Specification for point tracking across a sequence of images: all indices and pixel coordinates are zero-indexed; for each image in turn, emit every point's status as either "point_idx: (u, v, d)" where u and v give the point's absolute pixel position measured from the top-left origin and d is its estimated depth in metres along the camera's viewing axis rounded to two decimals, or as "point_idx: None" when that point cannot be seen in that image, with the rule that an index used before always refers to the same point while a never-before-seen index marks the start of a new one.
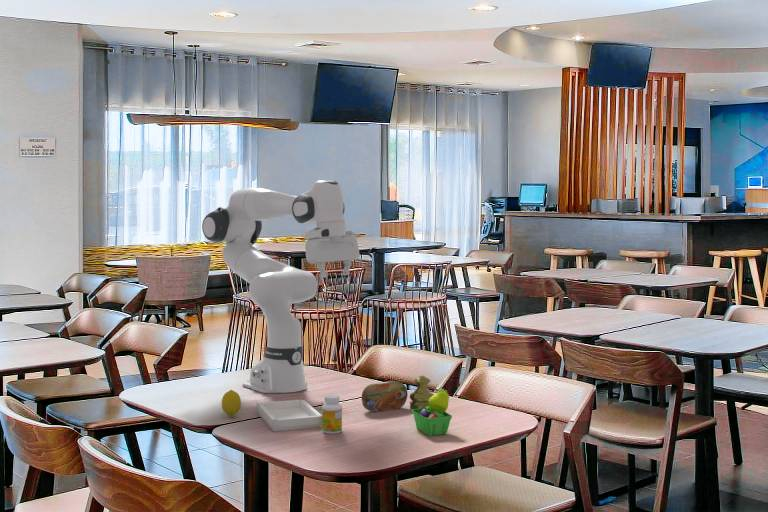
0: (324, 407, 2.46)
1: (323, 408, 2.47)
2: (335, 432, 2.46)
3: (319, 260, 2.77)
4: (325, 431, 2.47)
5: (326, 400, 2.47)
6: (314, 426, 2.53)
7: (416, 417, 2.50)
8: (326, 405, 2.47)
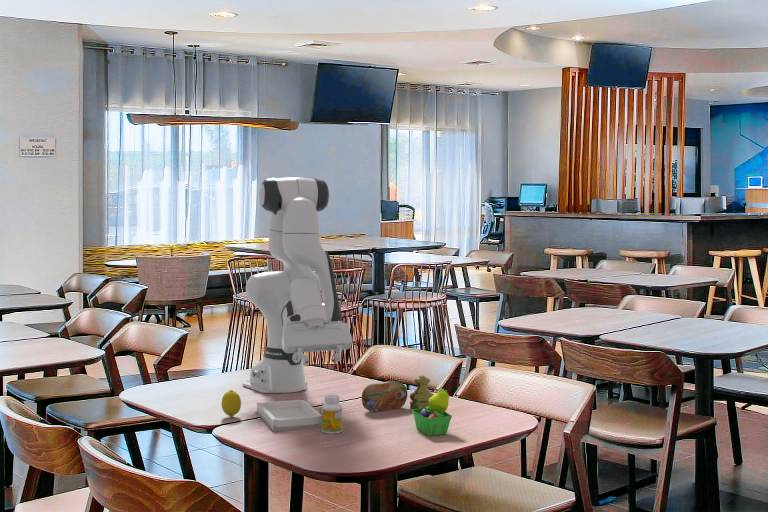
0: (324, 407, 2.46)
1: (323, 408, 2.47)
2: (335, 432, 2.46)
3: (292, 344, 2.58)
4: (325, 431, 2.47)
5: (326, 400, 2.47)
6: (314, 426, 2.53)
7: (416, 417, 2.50)
8: (326, 405, 2.47)
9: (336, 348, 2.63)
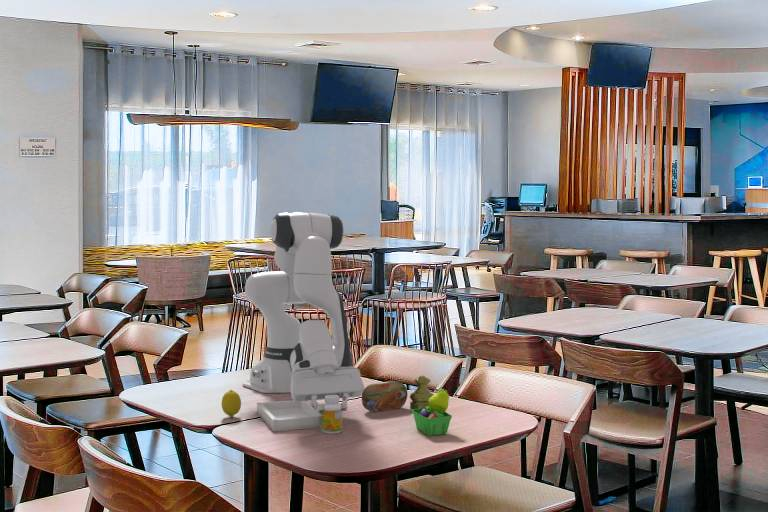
0: (324, 407, 2.46)
1: (323, 408, 2.47)
2: (335, 432, 2.46)
3: (301, 392, 2.47)
4: (325, 431, 2.47)
5: (326, 400, 2.47)
6: (314, 426, 2.53)
7: (416, 417, 2.50)
8: (326, 405, 2.47)
9: (342, 396, 2.52)
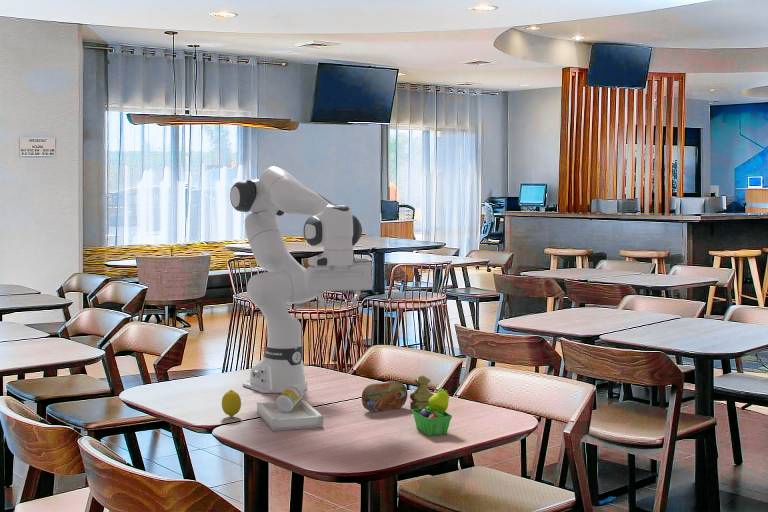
0: None
1: None
2: (281, 396, 2.64)
3: (314, 289, 2.68)
4: None
5: None
6: (314, 426, 2.53)
7: (416, 417, 2.50)
8: None
9: (354, 290, 2.74)
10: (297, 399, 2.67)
